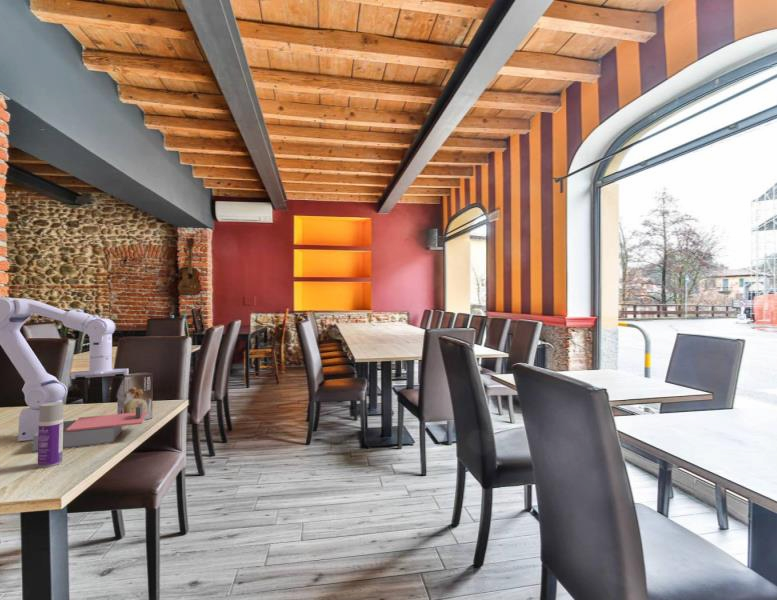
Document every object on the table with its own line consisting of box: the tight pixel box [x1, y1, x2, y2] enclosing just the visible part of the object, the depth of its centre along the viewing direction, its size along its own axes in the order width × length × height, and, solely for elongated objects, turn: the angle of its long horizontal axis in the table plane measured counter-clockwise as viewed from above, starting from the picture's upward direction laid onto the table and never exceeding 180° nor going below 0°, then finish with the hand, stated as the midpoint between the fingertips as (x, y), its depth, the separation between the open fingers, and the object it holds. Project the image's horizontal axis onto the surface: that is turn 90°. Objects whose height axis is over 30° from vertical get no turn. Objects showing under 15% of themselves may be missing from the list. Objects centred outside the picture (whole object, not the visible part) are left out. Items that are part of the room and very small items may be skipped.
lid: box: [66, 404, 147, 432], centre depth 119 cm, size 18×14×4 cm
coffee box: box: [116, 371, 154, 421], centre depth 137 cm, size 9×6×16 cm
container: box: [37, 401, 64, 468], centre depth 98 cm, size 5×5×15 cm
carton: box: [32, 419, 123, 453], centre depth 115 cm, size 18×14×4 cm
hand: (100, 399), depth 122 cm, fingers open, 7 cm apart
